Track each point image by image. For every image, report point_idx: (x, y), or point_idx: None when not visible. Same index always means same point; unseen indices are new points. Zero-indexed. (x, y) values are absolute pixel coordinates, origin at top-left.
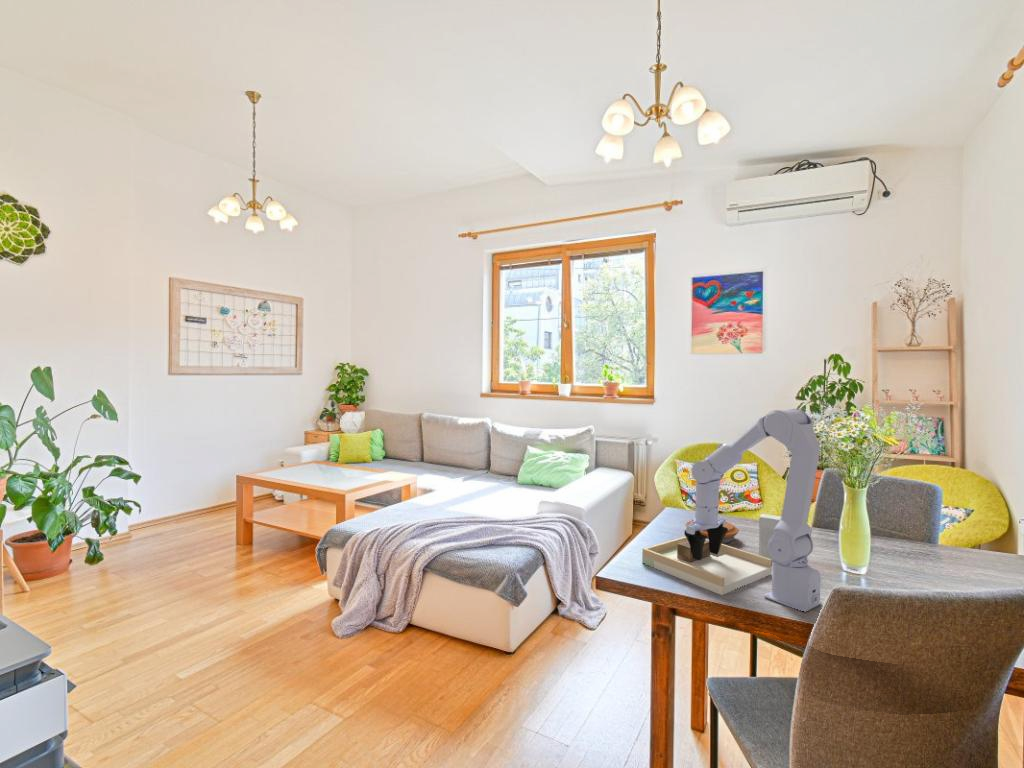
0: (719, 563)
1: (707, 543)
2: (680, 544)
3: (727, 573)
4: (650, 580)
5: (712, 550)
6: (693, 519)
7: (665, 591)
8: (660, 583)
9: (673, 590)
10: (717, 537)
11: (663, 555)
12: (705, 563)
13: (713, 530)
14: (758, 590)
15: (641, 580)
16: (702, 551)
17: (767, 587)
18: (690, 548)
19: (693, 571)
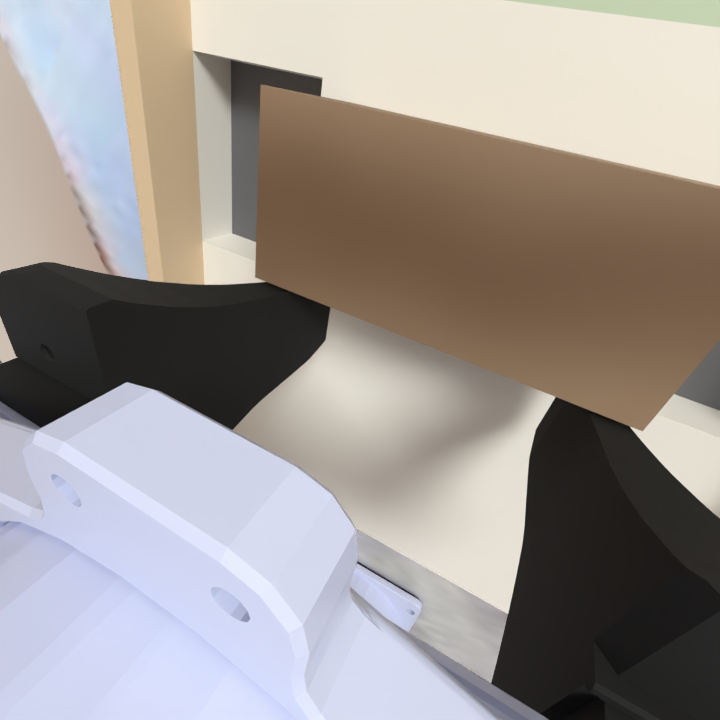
0: (466, 423)
1: (567, 395)
2: (262, 138)
3: (340, 462)
4: (95, 110)
5: (558, 408)
6: (37, 488)
7: (92, 235)
8: (115, 176)
9: (121, 259)
10: (530, 573)
11: (134, 58)
12: (400, 343)
13: (563, 627)
14: (359, 531)
15: (60, 68)
16: (277, 384)
17: (412, 565)
18: (263, 277)
19: None
